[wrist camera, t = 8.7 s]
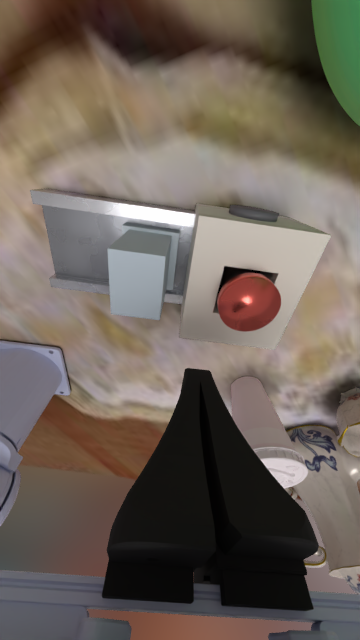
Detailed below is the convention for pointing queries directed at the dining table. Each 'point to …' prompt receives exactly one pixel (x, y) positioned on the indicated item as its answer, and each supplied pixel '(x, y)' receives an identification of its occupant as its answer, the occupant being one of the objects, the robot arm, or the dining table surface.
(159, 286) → the carriage
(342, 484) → the chinaware
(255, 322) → the red push button
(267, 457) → the smoothie
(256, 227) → the end cabinet
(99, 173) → the dining table surface
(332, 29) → the green rounded blob
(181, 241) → the rail
